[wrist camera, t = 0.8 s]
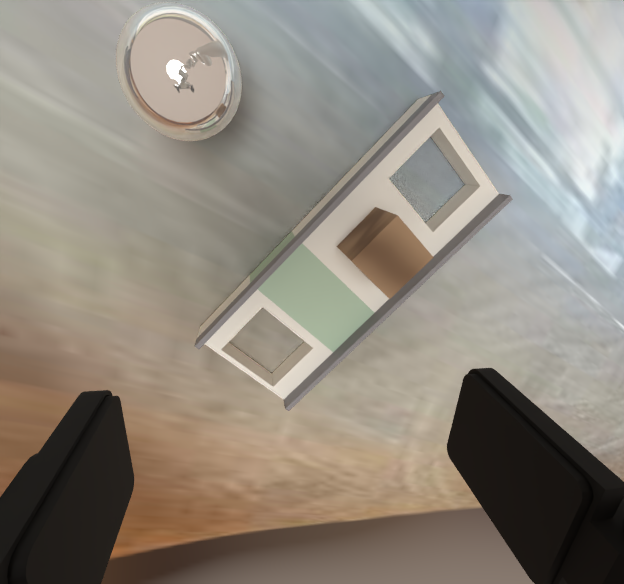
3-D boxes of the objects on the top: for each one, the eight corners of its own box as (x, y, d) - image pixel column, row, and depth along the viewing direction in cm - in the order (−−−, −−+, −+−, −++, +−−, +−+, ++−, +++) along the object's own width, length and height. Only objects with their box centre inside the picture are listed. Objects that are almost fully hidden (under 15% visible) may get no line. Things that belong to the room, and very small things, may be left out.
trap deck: (418, 99, 31) (441, 90, 28) (485, 195, 36) (512, 199, 32) (199, 326, 35) (194, 346, 32) (284, 387, 40) (288, 411, 36)
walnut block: (375, 207, 32) (397, 215, 27) (407, 243, 33) (433, 257, 29) (336, 246, 32) (351, 260, 28) (370, 280, 34) (389, 299, 29)
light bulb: (241, 150, 30) (239, 145, 19) (156, 140, 29) (101, 129, 18) (244, 58, 28) (243, -9, 17) (152, 42, 26) (85, -42, 15)
